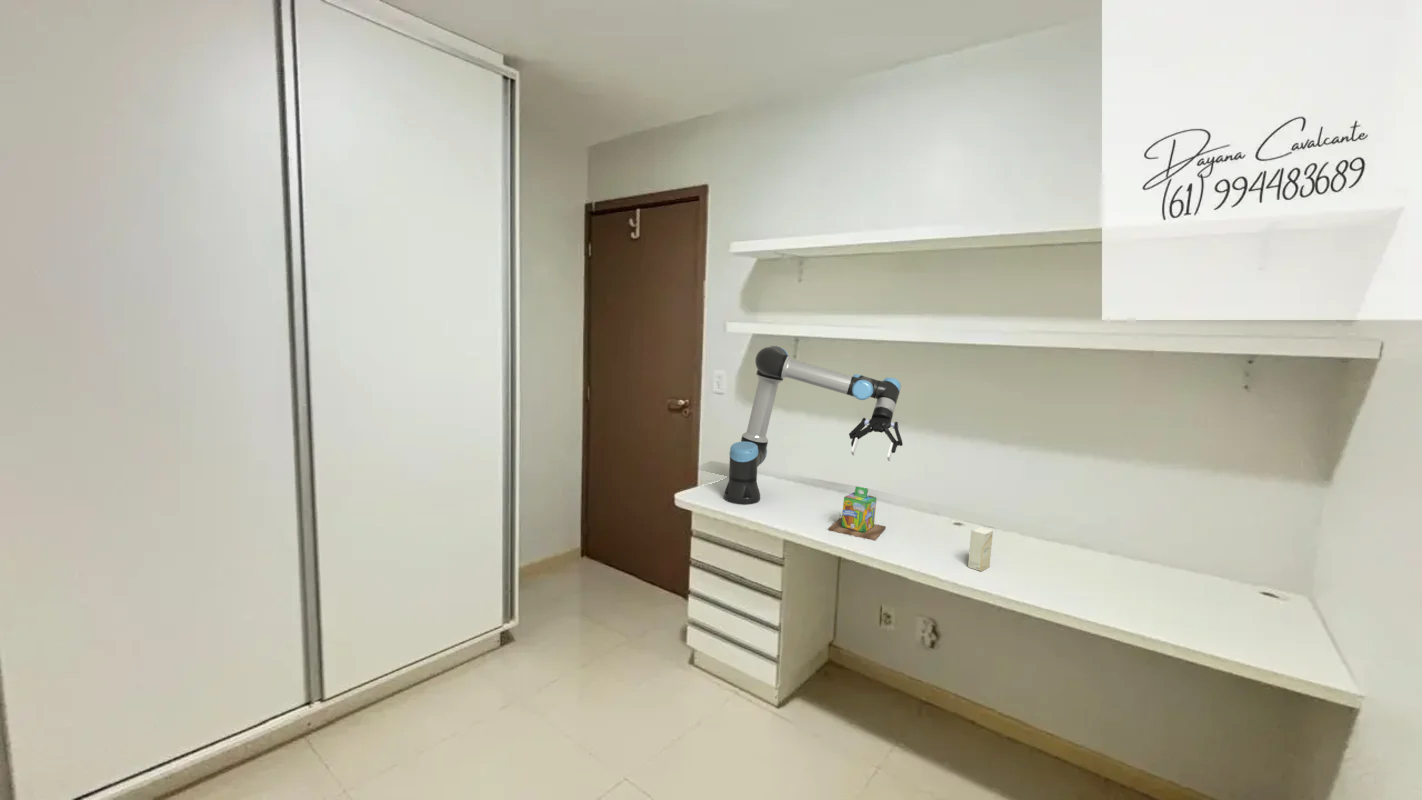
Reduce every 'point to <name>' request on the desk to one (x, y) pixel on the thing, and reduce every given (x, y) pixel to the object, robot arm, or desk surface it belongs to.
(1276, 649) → the desk surface
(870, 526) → the chalk box
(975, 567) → the skincare box
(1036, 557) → the desk surface
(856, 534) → the walnut board
